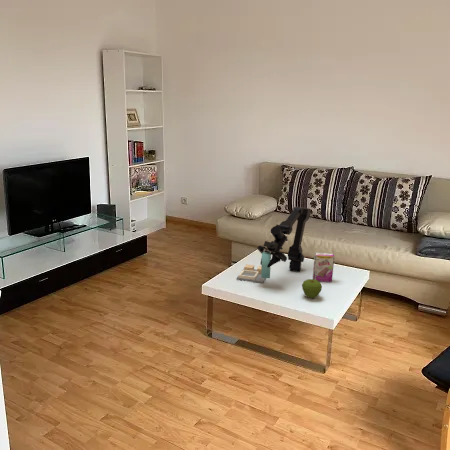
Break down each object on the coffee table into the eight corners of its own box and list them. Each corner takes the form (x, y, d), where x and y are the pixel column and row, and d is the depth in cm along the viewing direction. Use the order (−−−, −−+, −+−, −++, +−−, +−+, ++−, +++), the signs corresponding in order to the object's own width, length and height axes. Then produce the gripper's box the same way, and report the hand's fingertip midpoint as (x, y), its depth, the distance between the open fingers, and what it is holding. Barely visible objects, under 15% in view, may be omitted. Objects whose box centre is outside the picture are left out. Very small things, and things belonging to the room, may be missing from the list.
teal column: (270, 275, 277) (271, 252, 273) (268, 279, 272) (269, 255, 268) (262, 274, 278) (263, 251, 274) (260, 277, 273) (261, 254, 270)
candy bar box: (313, 281, 285) (314, 255, 280) (312, 278, 289) (314, 252, 285) (332, 282, 284) (334, 256, 279) (331, 279, 288) (333, 253, 284)
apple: (297, 294, 266) (298, 277, 264) (314, 291, 270) (315, 275, 267) (308, 302, 257) (309, 284, 254) (324, 299, 260) (326, 282, 258)
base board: (269, 273, 296) (269, 266, 295) (263, 283, 280) (263, 276, 279) (244, 269, 301) (244, 263, 299) (236, 279, 285) (236, 273, 284)
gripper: (259, 231, 278) (245, 254, 274) (284, 239, 264) (270, 263, 260) (268, 242, 285) (254, 264, 281) (293, 250, 272) (279, 273, 268)
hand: (264, 265), depth 272 cm, fingers closed on teal column, 5 cm apart
